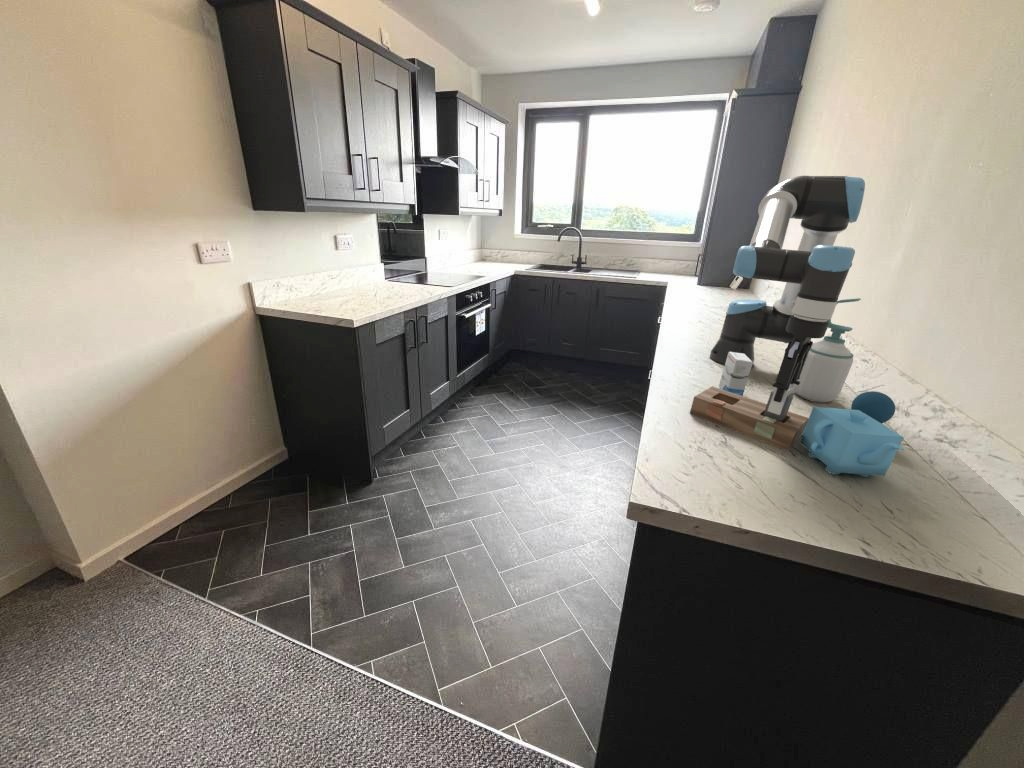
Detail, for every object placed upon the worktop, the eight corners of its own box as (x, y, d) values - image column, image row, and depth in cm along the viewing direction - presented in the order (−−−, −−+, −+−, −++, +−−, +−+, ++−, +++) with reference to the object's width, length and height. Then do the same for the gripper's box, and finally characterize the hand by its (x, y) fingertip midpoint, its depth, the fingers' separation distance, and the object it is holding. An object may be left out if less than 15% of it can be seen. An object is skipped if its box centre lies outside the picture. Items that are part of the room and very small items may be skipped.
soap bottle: (830, 409, 121) (873, 304, 109) (783, 394, 129) (819, 295, 117) (840, 399, 129) (882, 299, 117) (796, 385, 137) (830, 291, 125)
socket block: (708, 401, 120) (712, 385, 118) (802, 435, 104) (809, 417, 102) (689, 413, 112) (693, 395, 110) (787, 451, 96) (795, 432, 94)
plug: (768, 410, 105) (778, 382, 102) (785, 416, 103) (796, 387, 99) (763, 415, 103) (773, 385, 99) (781, 421, 100) (791, 391, 97)
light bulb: (843, 423, 112) (861, 383, 108) (882, 436, 107) (902, 394, 102) (838, 433, 107) (856, 391, 102) (878, 446, 102) (900, 403, 97)
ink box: (742, 398, 124) (754, 361, 120) (725, 396, 125) (736, 359, 120) (734, 387, 132) (744, 353, 127) (718, 385, 133) (728, 351, 128)
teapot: (786, 447, 98) (804, 398, 93) (851, 451, 98) (873, 403, 93) (839, 495, 82) (865, 439, 77) (917, 500, 82) (948, 445, 77)
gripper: (801, 309, 101) (771, 396, 110) (779, 318, 90) (748, 413, 99) (838, 316, 96) (803, 406, 105) (820, 326, 85) (783, 426, 94)
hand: (777, 409), depth 102 cm, fingers open, 4 cm apart
